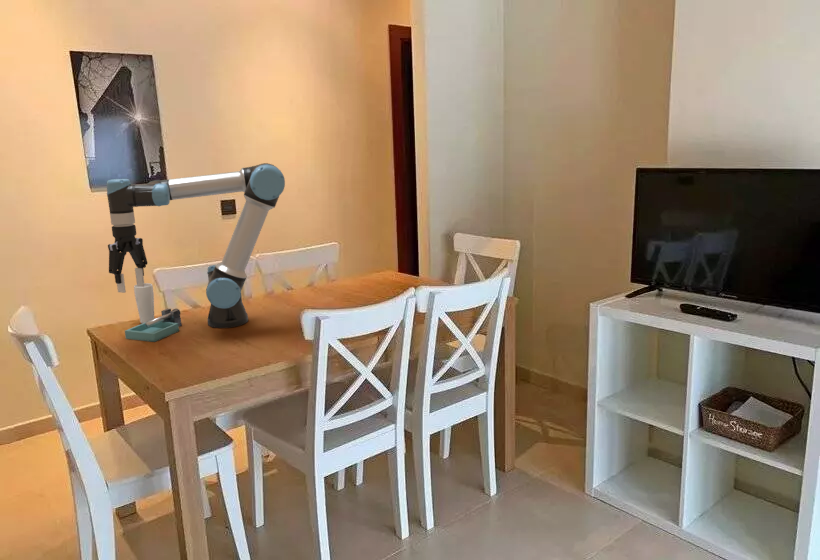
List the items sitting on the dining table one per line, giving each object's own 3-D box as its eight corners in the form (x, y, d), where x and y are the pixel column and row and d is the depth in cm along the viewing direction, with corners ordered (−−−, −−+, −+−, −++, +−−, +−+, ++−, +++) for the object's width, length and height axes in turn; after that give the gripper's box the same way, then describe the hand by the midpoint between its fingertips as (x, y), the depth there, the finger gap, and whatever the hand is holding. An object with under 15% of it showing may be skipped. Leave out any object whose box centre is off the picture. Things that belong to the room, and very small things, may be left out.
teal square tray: (179, 331, 239) (178, 323, 239) (154, 342, 227) (153, 334, 227) (151, 327, 244) (150, 320, 243) (125, 338, 232) (124, 330, 231)
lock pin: (180, 316, 247) (180, 308, 246) (151, 329, 232) (150, 320, 232) (174, 316, 248) (173, 308, 247) (144, 328, 234) (143, 320, 233)
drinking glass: (150, 325, 247) (145, 287, 243) (134, 324, 248) (129, 287, 245) (160, 320, 253) (156, 283, 250) (145, 319, 255) (140, 282, 251)
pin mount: (181, 325, 246) (179, 309, 244) (175, 328, 242) (173, 312, 241) (168, 324, 248) (167, 308, 246) (162, 326, 244) (160, 310, 243)
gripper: (137, 220, 230) (144, 281, 235) (90, 229, 210) (99, 295, 216) (153, 220, 227) (161, 282, 232) (108, 230, 208) (117, 297, 213)
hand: (131, 288), depth 224 cm, fingers open, 8 cm apart
